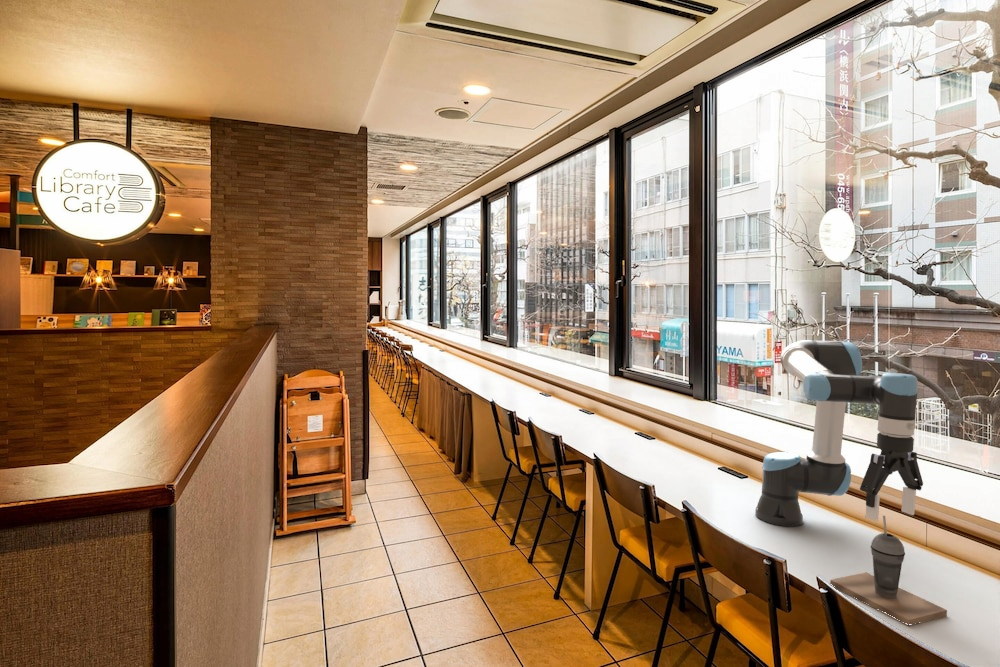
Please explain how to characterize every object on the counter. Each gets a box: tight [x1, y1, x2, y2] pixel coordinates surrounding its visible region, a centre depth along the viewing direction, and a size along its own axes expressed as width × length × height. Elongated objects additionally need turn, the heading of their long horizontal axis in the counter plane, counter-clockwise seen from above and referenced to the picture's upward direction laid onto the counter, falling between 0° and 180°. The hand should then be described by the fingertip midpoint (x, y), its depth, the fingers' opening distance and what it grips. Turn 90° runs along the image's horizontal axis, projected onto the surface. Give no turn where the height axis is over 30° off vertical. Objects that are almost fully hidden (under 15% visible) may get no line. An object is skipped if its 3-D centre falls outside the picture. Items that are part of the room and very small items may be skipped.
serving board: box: [829, 572, 948, 625], centre depth 139 cm, size 20×14×2 cm
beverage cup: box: [870, 515, 906, 599], centre depth 139 cm, size 7×7×20 cm
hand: (890, 516), depth 139 cm, fingers open, 13 cm apart
